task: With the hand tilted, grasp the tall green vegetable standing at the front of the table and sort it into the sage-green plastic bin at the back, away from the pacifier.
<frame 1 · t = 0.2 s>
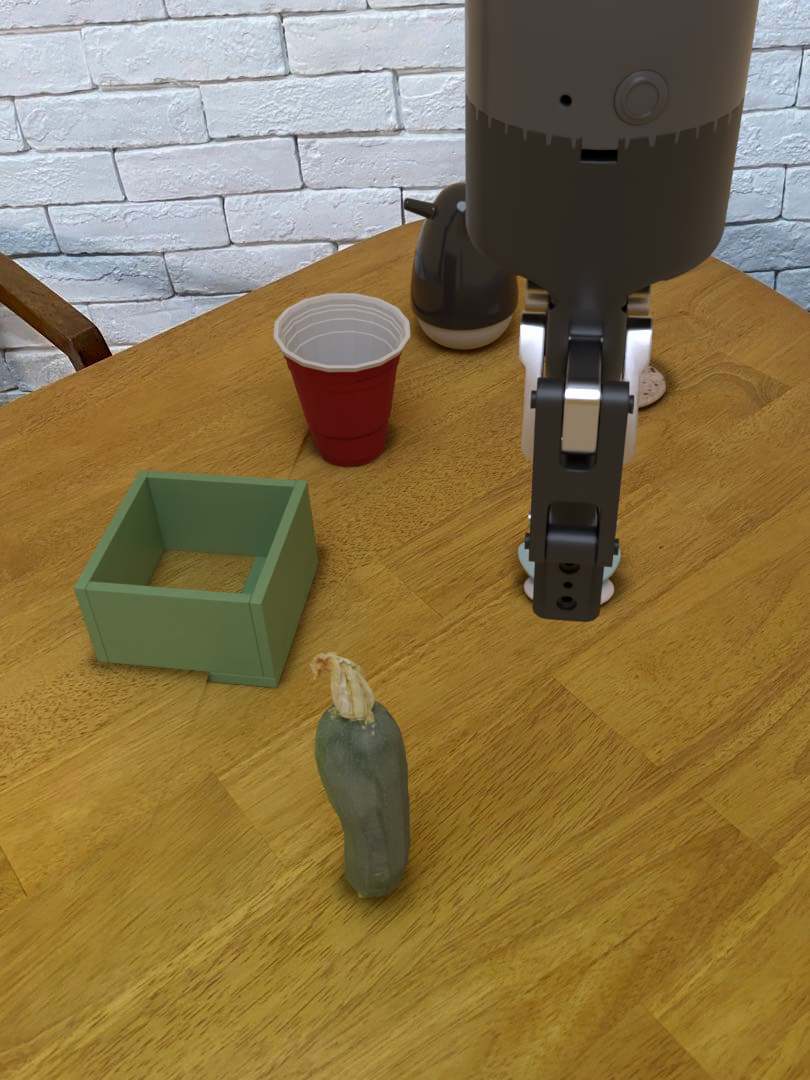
hand: (570, 531, 41), 30 cm above the table, tool pointing down, fingers open, 8 cm apart
pump dispenser: (464, 337, 109), on the table
flatbread: (619, 389, 101), on the table
plastic cup: (354, 449, 96), on the table
pacifier: (567, 587, 82), on the table
green bin: (215, 615, 82), on the table
vegetable: (378, 902, 64), on the table
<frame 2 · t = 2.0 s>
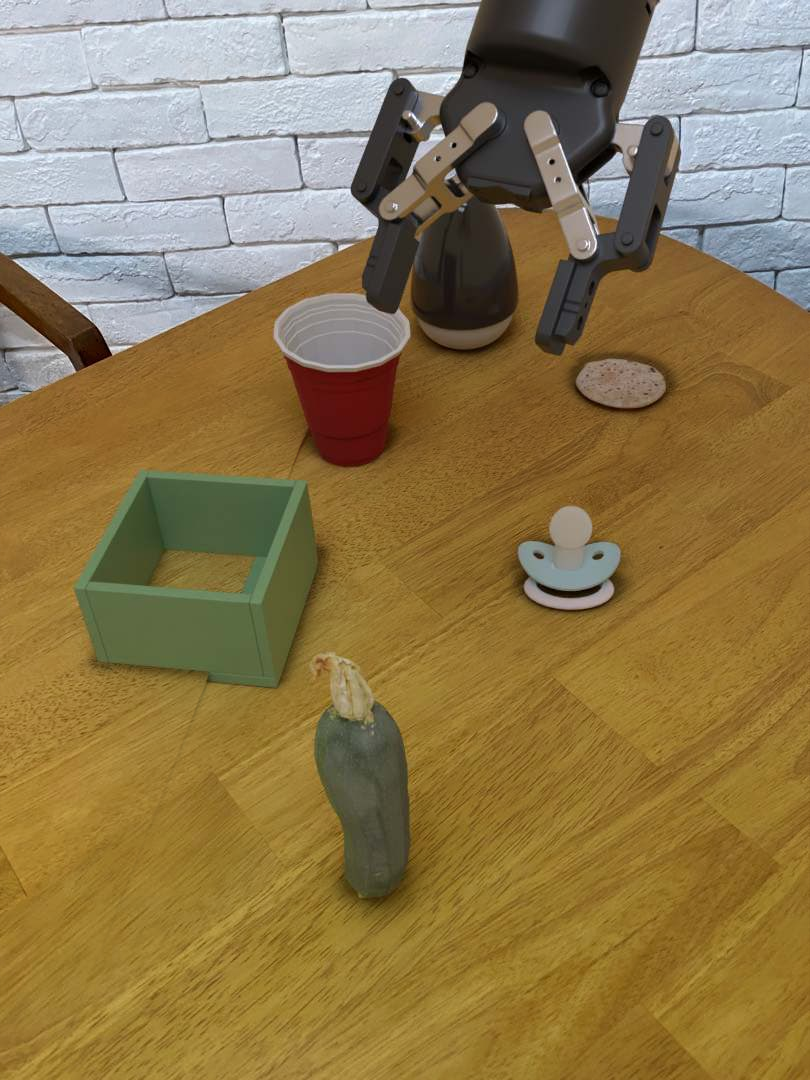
hand: (461, 328, 51), 31 cm above the table, tool tilted 45°, fingers open, 8 cm apart
nothing on the table moved.
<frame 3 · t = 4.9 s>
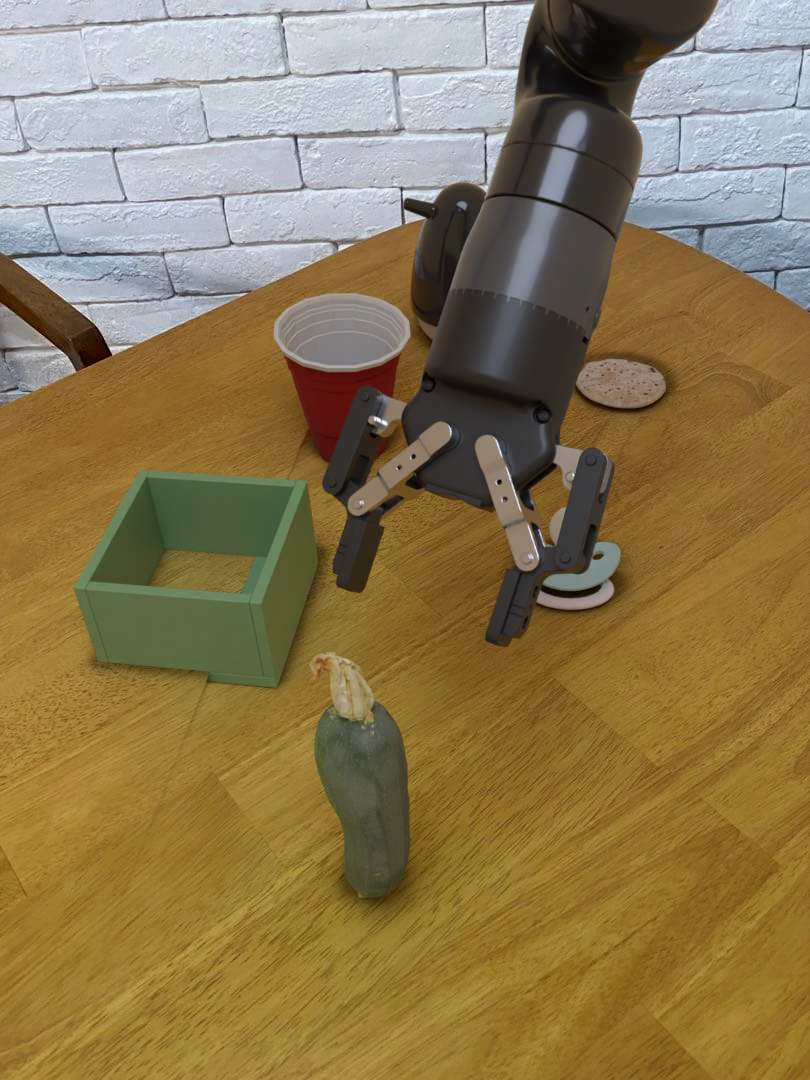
hand: (420, 616, 57), 17 cm above the table, tool tilted 45°, fingers open, 8 cm apart
nothing on the table moved.
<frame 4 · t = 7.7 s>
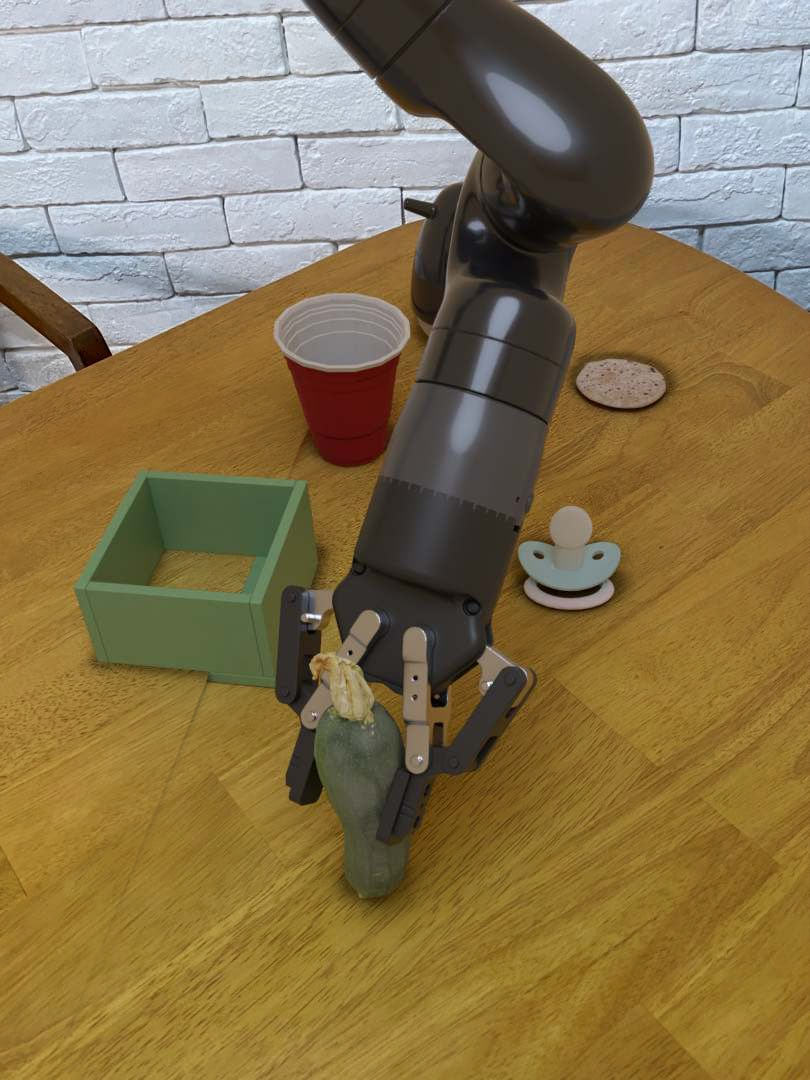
hand: (345, 820, 56), 10 cm above the table, tool tilted 45°, fingers closed on vegetable, 4 cm apart
vegetable: (378, 902, 64), on the table, touching gripper
everything else where it was.
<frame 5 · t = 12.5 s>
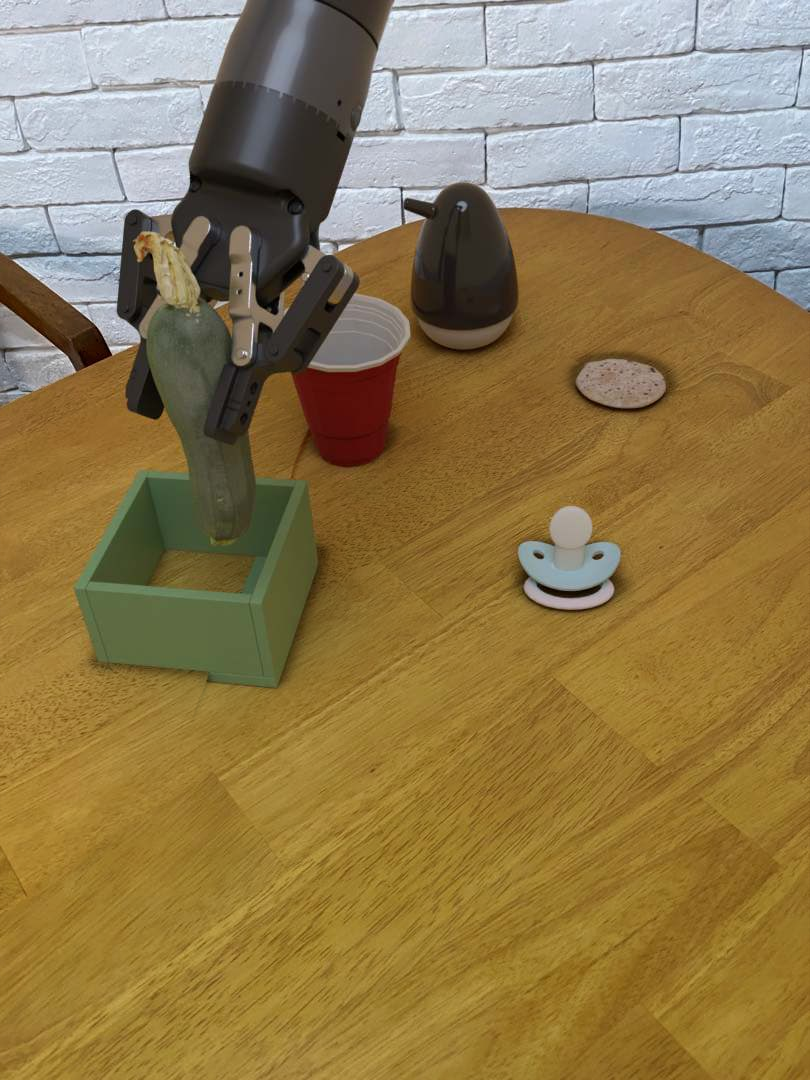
hand: (180, 426, 58), 24 cm above the table, tool tilted 45°, fingers closed on vegetable, 4 cm apart
vegetable: (231, 552, 66), point 14 cm above the table, touching gripper
everything else where it was.
when the fingers open (11 cm above the table, at t = 17.7 s): vegetable stays where it is, resting on green bin.
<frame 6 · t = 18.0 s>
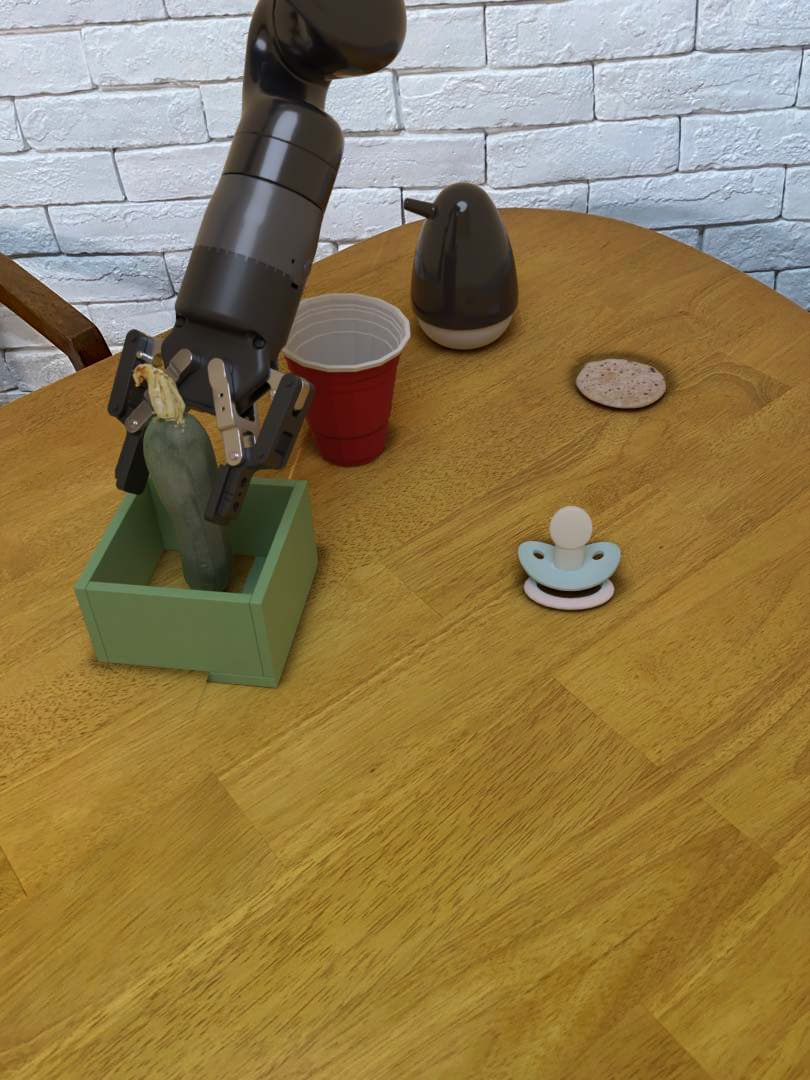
hand: (171, 507, 73), 11 cm above the table, tool tilted 45°, fingers open, 6 cm apart
vegetable: (214, 604, 81), point 1 cm above the table, touching green bin
everything else where it was.
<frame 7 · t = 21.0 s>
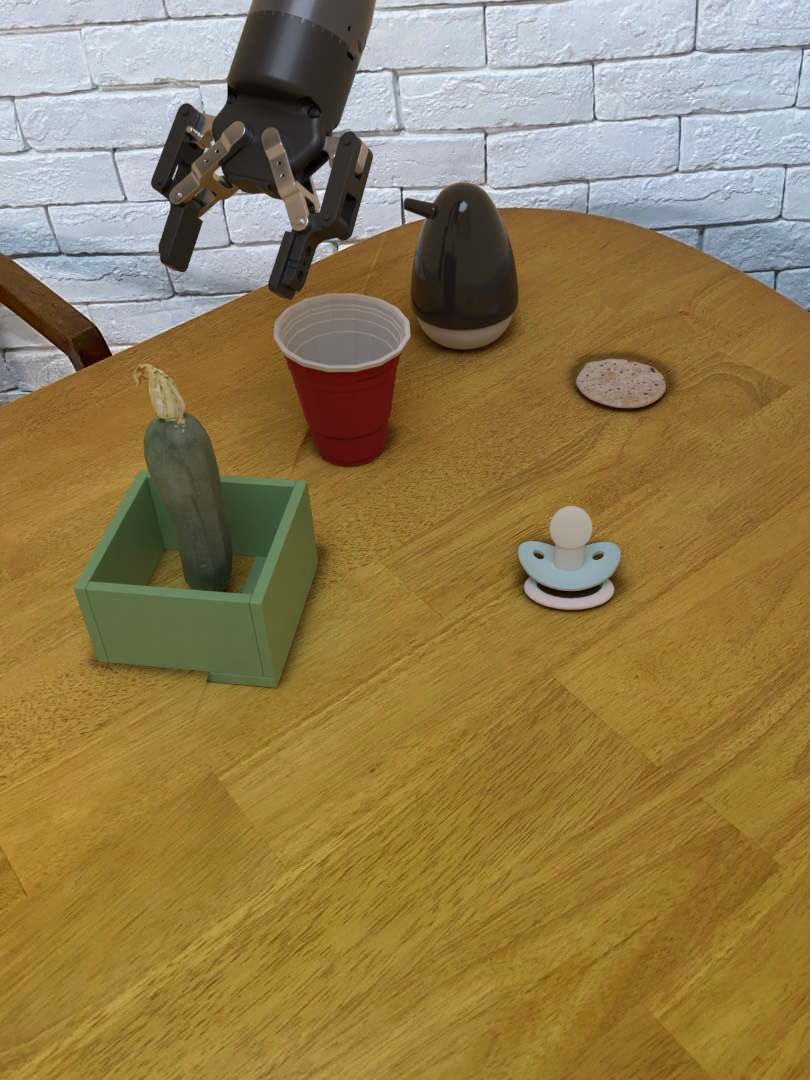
hand: (224, 281, 72), 23 cm above the table, tool tilted 45°, fingers open, 8 cm apart
nothing on the table moved.
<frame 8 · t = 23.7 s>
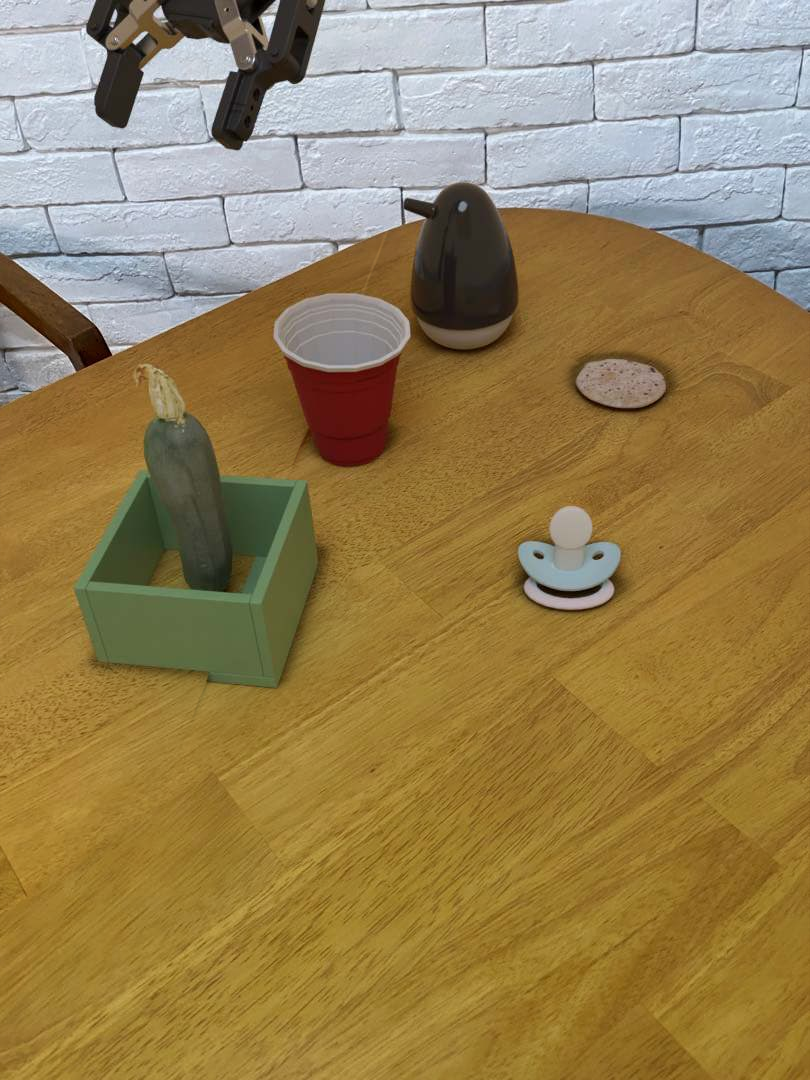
hand: (165, 133, 65), 33 cm above the table, tool tilted 45°, fingers open, 8 cm apart
nothing on the table moved.
at the end: vegetable inside the target area in the green bin (0.3 cm from its centre), point 0.8 cm above the green bin's base; the gripper is holding nothing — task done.
